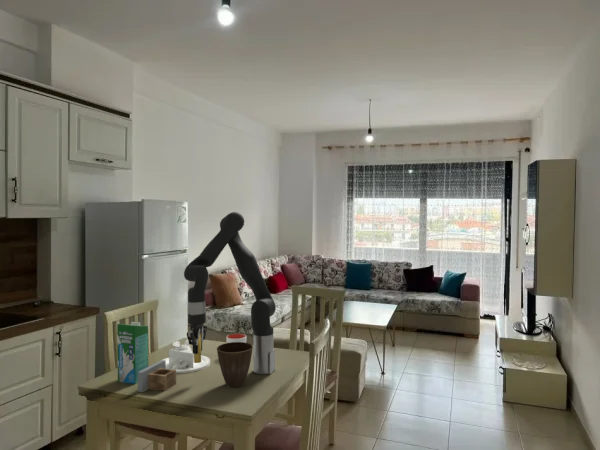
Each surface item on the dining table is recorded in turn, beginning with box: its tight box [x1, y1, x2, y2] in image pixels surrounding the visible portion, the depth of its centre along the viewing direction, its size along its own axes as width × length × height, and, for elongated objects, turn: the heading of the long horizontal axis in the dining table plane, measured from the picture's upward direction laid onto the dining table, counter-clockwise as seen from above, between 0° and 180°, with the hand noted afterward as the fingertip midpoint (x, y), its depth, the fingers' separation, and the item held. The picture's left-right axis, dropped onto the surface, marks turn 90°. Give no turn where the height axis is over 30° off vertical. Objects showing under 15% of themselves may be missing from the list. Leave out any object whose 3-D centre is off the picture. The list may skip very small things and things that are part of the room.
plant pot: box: [216, 342, 253, 389], centre depth 189 cm, size 15×15×16 cm
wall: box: [137, 359, 166, 393], centre depth 189 cm, size 2×16×8 cm, turn 162°
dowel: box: [194, 334, 202, 363], centre depth 192 cm, size 3×3×12 cm
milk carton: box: [116, 321, 149, 385], centre depth 196 cm, size 9×9×25 cm
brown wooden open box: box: [147, 368, 177, 392], centre depth 188 cm, size 8×8×6 cm
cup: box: [226, 333, 247, 343], centre depth 229 cm, size 10×10×10 cm
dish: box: [162, 338, 211, 374], centre depth 216 cm, size 25×25×11 cm
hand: (197, 352), depth 192 cm, fingers closed on dowel, 3 cm apart
